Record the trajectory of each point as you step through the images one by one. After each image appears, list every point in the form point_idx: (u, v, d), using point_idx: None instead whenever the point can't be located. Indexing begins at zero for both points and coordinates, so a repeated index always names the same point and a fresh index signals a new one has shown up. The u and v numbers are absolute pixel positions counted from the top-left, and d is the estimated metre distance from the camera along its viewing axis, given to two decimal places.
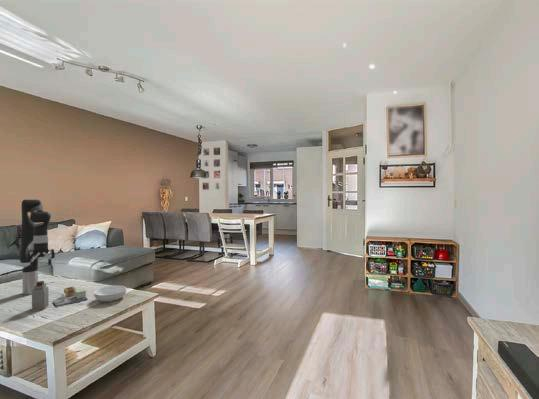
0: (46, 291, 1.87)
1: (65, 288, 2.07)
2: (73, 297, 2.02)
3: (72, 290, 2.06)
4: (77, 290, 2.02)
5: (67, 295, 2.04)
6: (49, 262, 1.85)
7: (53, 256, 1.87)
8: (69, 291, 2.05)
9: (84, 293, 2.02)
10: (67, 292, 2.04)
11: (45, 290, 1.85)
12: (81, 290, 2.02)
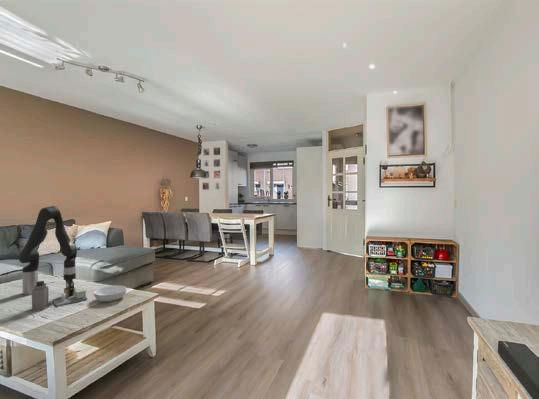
0: (46, 291, 1.87)
1: (65, 288, 2.07)
2: (73, 297, 2.02)
3: None
4: (77, 290, 2.02)
5: (67, 295, 2.04)
6: None
7: None
8: None
9: (84, 293, 2.02)
10: (67, 292, 2.04)
11: (45, 290, 1.85)
12: (81, 290, 2.02)
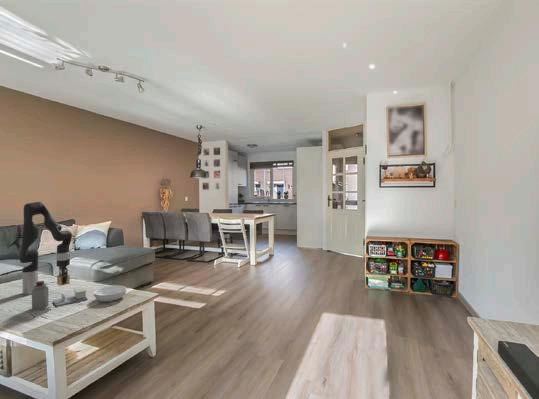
0: (46, 291, 1.87)
1: (58, 275, 1.95)
2: (73, 297, 2.02)
3: None
4: (77, 290, 2.02)
5: (60, 282, 1.92)
6: None
7: None
8: None
9: (84, 293, 2.02)
10: (60, 279, 1.92)
11: (45, 290, 1.85)
12: (81, 290, 2.02)
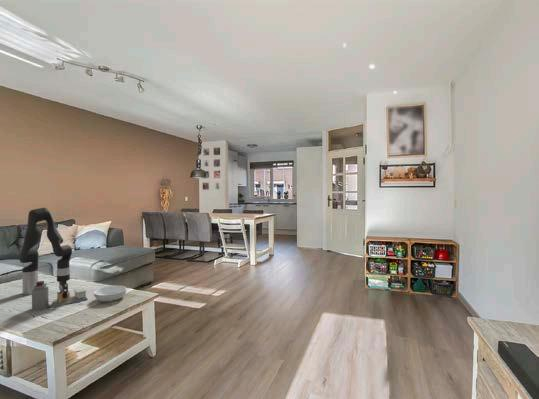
0: (46, 291, 1.87)
1: (58, 292, 1.95)
2: (73, 297, 2.02)
3: None
4: (77, 290, 2.02)
5: (60, 300, 1.92)
6: None
7: None
8: None
9: (84, 293, 2.02)
10: (60, 296, 1.92)
11: (45, 290, 1.85)
12: (81, 290, 2.02)
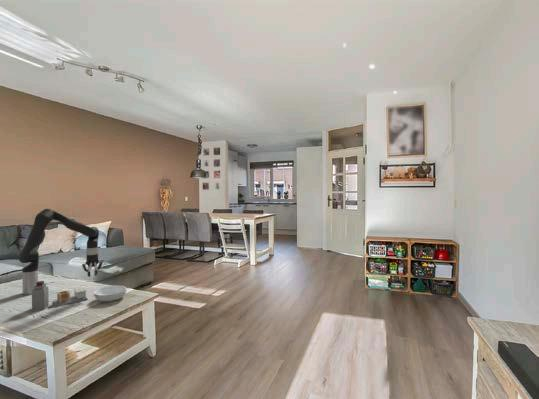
0: (46, 291, 1.87)
1: (58, 292, 1.95)
2: (73, 297, 2.02)
3: (66, 294, 1.94)
4: (77, 290, 2.02)
5: (60, 300, 1.92)
6: None
7: None
8: (63, 295, 1.93)
9: (84, 293, 2.02)
10: (60, 296, 1.92)
11: (45, 290, 1.85)
12: (81, 290, 2.02)
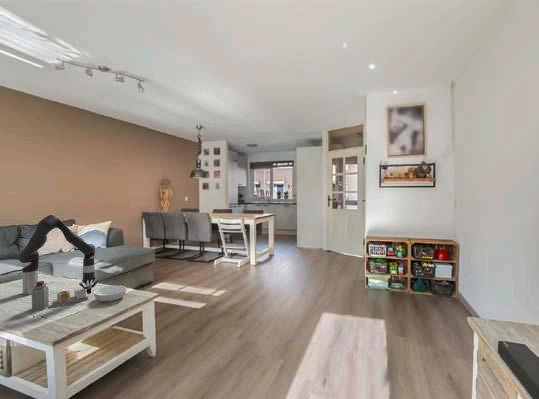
0: (46, 291, 1.87)
1: (58, 292, 1.95)
2: (73, 297, 2.02)
3: (66, 294, 1.94)
4: (77, 290, 2.02)
5: (60, 300, 1.92)
6: None
7: None
8: (63, 295, 1.93)
9: (84, 293, 2.02)
10: (60, 296, 1.92)
11: (45, 290, 1.85)
12: (81, 290, 2.02)
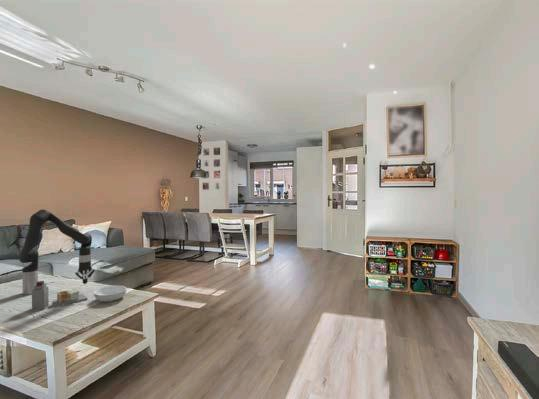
0: (46, 291, 1.87)
1: (58, 292, 1.95)
2: None
3: (66, 294, 1.94)
4: (70, 292, 1.99)
5: (60, 300, 1.92)
6: None
7: None
8: (63, 295, 1.93)
9: (77, 295, 1.99)
10: (60, 296, 1.92)
11: (45, 290, 1.85)
12: (74, 292, 1.99)
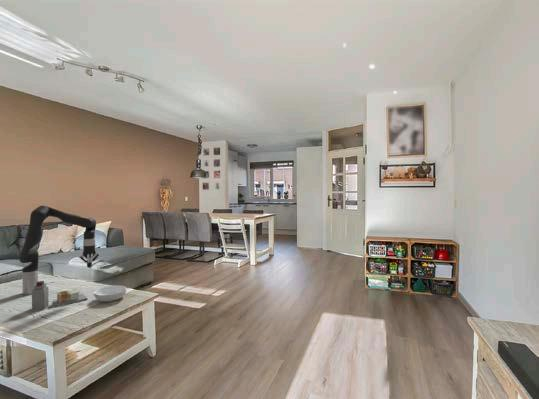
0: (46, 291, 1.87)
1: (58, 292, 1.95)
2: None
3: (66, 294, 1.94)
4: (70, 292, 1.99)
5: (60, 300, 1.92)
6: None
7: None
8: (63, 295, 1.93)
9: (77, 295, 1.99)
10: (60, 296, 1.92)
11: (45, 290, 1.85)
12: (74, 292, 1.99)
